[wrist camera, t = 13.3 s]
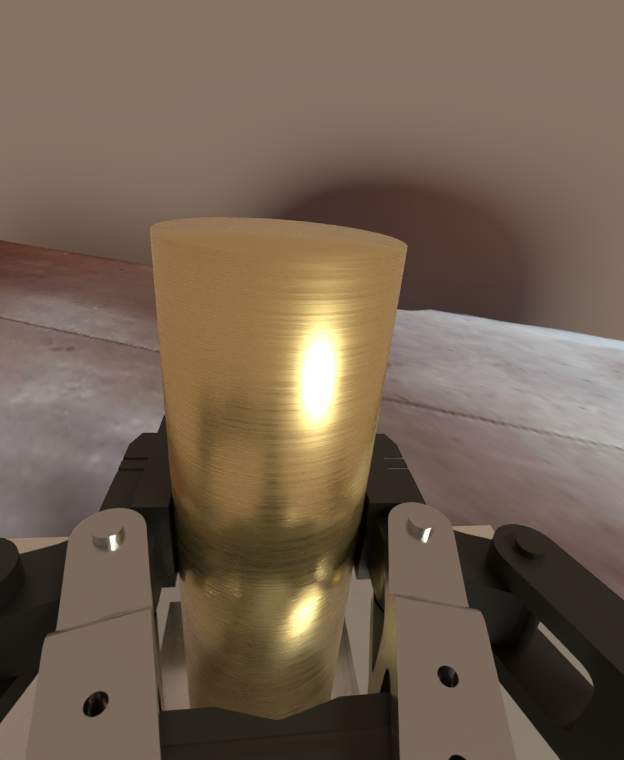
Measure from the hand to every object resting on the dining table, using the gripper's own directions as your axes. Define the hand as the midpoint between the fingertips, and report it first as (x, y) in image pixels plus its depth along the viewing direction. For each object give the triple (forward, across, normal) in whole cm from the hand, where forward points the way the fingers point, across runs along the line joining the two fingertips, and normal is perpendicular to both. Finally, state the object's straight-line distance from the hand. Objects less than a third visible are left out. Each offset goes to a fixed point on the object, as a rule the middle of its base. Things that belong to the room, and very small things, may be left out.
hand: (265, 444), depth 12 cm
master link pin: (-3, 0, +8) cm, 8 cm away
